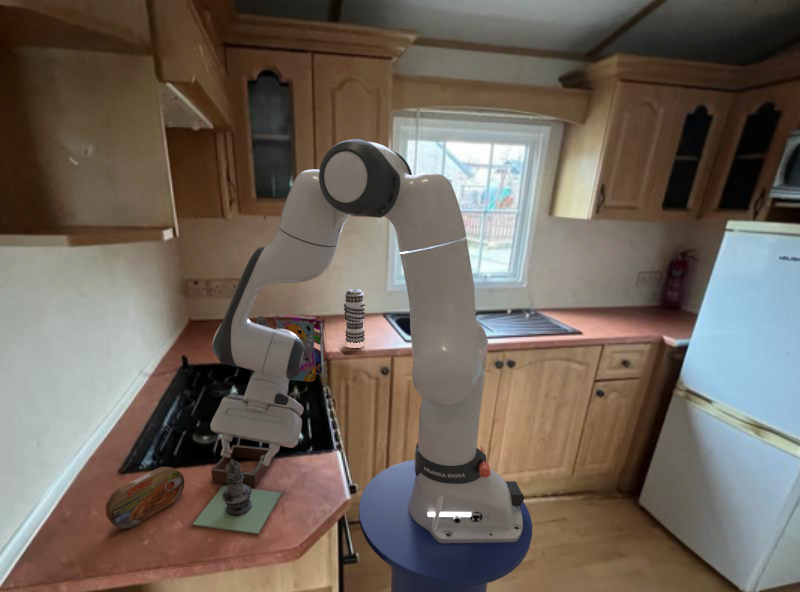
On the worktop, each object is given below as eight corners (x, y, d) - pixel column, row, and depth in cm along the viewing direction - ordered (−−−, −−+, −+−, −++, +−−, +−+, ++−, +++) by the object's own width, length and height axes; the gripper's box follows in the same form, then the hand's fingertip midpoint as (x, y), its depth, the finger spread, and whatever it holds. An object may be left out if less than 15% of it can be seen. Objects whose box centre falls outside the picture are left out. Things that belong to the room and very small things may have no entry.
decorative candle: (358, 341, 189) (357, 287, 180) (369, 346, 182) (369, 290, 173) (341, 345, 184) (339, 289, 175) (352, 350, 177) (350, 293, 168)
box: (258, 380, 148) (251, 315, 139) (267, 374, 153) (260, 310, 145) (322, 389, 141) (318, 320, 132) (329, 381, 146) (326, 315, 138)
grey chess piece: (255, 497, 89) (249, 449, 85) (250, 516, 84) (243, 467, 79) (228, 498, 89) (220, 451, 85) (220, 518, 83) (212, 468, 79)
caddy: (274, 459, 103) (272, 448, 101) (255, 486, 93) (254, 475, 92) (234, 455, 104) (233, 444, 103) (212, 481, 95) (210, 470, 94)
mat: (281, 493, 91) (281, 492, 90) (258, 534, 79) (258, 533, 79) (223, 486, 93) (223, 485, 93) (192, 525, 82) (192, 523, 82)
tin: (115, 537, 79) (105, 502, 76) (108, 530, 81) (98, 495, 78) (188, 495, 90) (181, 463, 87) (180, 489, 92) (174, 457, 89)
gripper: (217, 388, 92) (194, 449, 86) (299, 400, 86) (280, 466, 80) (232, 397, 97) (211, 455, 92) (310, 409, 91) (292, 472, 86)
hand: (244, 461), depth 86 cm, fingers open, 8 cm apart
